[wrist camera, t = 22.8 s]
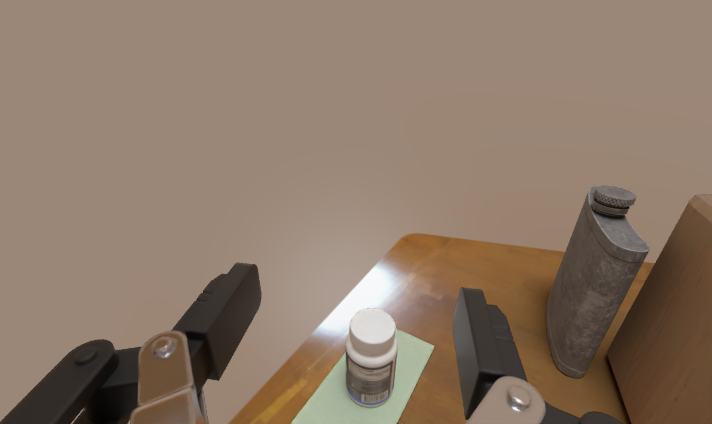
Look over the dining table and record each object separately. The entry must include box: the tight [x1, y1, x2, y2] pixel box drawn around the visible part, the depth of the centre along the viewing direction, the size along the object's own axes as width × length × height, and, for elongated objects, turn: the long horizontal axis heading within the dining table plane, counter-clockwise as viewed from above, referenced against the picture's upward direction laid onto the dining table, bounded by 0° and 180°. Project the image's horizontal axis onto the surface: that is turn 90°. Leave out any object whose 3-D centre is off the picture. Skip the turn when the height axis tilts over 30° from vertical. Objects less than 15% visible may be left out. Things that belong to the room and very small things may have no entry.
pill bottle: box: [345, 308, 398, 407], centre depth 31 cm, size 5×5×8 cm
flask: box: [546, 186, 650, 378], centre depth 36 cm, size 4×14×18 cm, turn 155°
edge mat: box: [291, 329, 435, 424], centre depth 33 cm, size 16×8×1 cm, turn 149°
